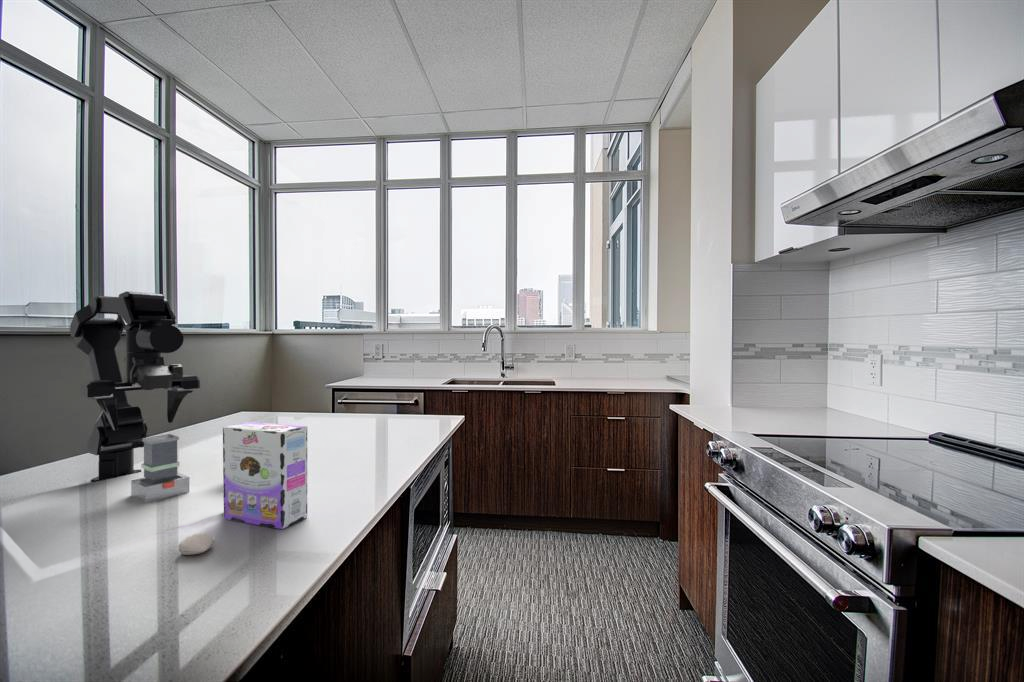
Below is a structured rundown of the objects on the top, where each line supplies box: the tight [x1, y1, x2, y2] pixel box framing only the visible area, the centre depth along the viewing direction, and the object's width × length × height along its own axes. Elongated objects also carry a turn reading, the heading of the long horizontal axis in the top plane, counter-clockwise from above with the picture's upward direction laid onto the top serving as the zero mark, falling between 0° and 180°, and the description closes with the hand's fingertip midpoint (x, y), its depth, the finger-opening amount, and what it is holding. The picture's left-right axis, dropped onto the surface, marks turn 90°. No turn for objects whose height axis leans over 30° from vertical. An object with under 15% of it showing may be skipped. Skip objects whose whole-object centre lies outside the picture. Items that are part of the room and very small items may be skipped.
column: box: [140, 433, 181, 481], centre depth 85 cm, size 5×5×8 cm
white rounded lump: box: [178, 532, 215, 556], centre depth 64 cm, size 4×5×2 cm
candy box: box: [222, 421, 308, 530], centre depth 77 cm, size 14×6×16 cm, turn 71°
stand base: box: [130, 471, 190, 504], centre depth 85 cm, size 12×12×4 cm
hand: (144, 426), depth 91 cm, fingers open, 9 cm apart
